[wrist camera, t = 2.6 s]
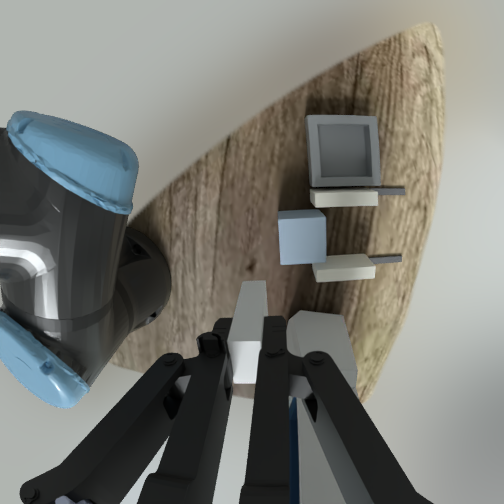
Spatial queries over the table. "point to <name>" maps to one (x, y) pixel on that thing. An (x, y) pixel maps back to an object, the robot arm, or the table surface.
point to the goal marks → (387, 192)
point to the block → (302, 236)
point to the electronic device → (300, 428)
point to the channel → (352, 263)
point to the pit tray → (342, 150)
